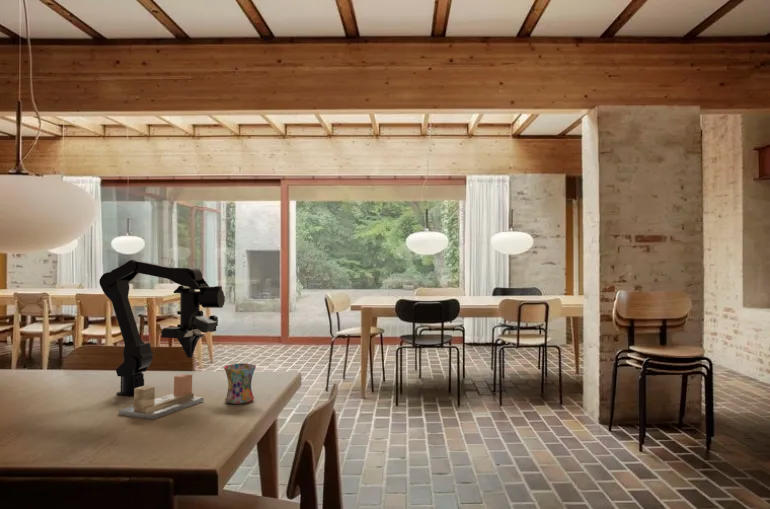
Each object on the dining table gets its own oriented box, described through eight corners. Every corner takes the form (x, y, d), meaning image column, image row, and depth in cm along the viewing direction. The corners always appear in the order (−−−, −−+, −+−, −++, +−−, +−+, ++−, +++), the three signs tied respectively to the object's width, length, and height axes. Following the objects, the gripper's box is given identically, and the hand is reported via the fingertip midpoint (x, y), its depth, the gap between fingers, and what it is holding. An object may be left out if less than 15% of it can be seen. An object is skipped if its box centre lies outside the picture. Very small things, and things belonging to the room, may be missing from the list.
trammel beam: (133, 410, 144) (133, 388, 144) (180, 395, 160) (180, 375, 161) (147, 412, 142) (147, 390, 142) (193, 397, 159) (193, 377, 159)
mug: (257, 404, 156) (258, 368, 157) (225, 407, 153) (226, 370, 153) (251, 394, 167) (251, 361, 168) (220, 397, 164) (221, 362, 164)
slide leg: (173, 396, 158) (174, 376, 158) (182, 393, 161) (182, 374, 161) (183, 397, 157) (183, 377, 157) (191, 394, 160) (192, 374, 160)
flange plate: (118, 414, 144) (118, 409, 144) (171, 397, 163) (171, 393, 163) (152, 419, 140) (152, 414, 140) (203, 401, 159) (203, 397, 159)
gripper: (189, 310, 154) (189, 364, 154) (230, 306, 172) (229, 354, 172) (160, 309, 158) (159, 362, 158) (202, 305, 176) (201, 352, 175)
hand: (189, 357), depth 166 cm, fingers closed
